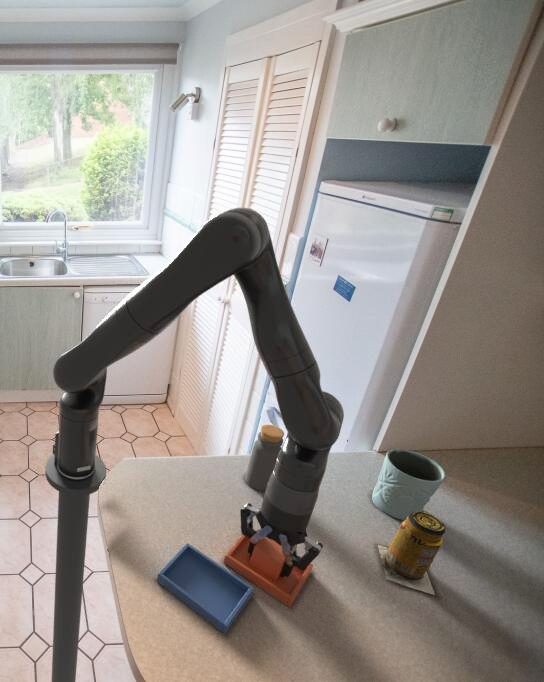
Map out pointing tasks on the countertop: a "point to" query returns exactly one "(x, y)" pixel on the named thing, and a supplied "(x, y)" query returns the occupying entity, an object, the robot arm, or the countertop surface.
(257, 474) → the bottle
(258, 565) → the block
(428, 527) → the condiment
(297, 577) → the terracotta tray
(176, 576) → the blue tray
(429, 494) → the light teal planter pot
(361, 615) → the countertop surface
